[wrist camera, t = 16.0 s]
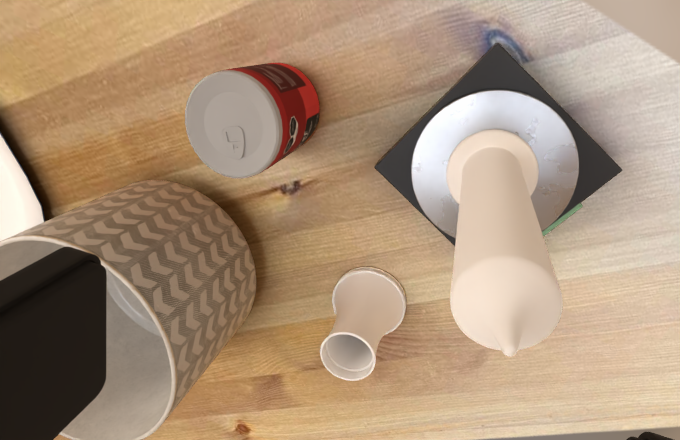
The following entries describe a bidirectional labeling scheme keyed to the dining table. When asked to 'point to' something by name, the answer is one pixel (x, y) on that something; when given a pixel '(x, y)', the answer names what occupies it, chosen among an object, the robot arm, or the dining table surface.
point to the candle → (500, 245)
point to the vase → (361, 321)
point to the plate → (16, 196)
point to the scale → (502, 114)
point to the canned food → (250, 117)
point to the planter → (150, 296)
